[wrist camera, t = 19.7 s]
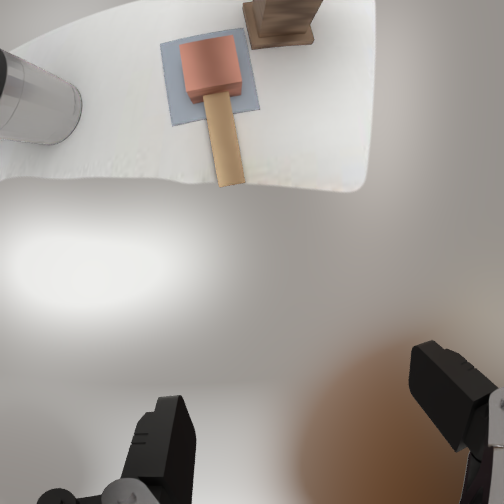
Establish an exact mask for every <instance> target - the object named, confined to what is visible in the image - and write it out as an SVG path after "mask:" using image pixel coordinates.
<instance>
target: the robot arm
mask: <svg viewBox="0 0 504 504" xmlns="http://www.w3.org/2000/svg"><path fill="white" fill-rule="evenodd" d="M81 109H82V102H81V97H80V94H79V92H78V90H77V89H76V88H75V87H74V86H73V85H72V84H70V83H68V82H66V81H64V80H62V79H60V78H59V77H57V76H55V75H53V74H51V73H49V72H47V71H45V70H43V69H41V68H39V67H37V66H35V65H33V64H31V63H29V62H27V61H25V60H23V59H21V58H19V57H17V56H15V55H13V54H10V53H8V52H6V51H4V50H2V49H0V139H2V140H11V141H20V142H29V143H38V144H46V145H52V144H56V143H59V142H61V141H62V140H64V139H65V138H67V137H68V136H69V135H70V134H71V132H72V131H73V130H74V128H75V127H76V125H77V123H78V120H79V118H80V114H81ZM409 389H410V392H411V394H412V396H413V397H414V398H415V400H416V401H417V402H418V404H419V405H420V406H421V407H422V409H423V410H424V411H425V413H426V414H427V415H428V417H429V418H430V419H431V420H432V422H433V423H434V424H435V426H436V427H437V428H438V429H439V431H440V432H441V434H442V435H443V436H444V437H445V439H446V440H447V441H448V443H449V444H450V445H451V447H452V448H453V449H454V451H455V452H458V451H460V450H462V449H464V448H466V447H468V448H469V450H470V452H469V455H468V460H467V467H466V473H465V480H464V485H463V490H462V495H461V499H460V503H459V504H504V387H502V388H498V387H497V386H496V385H494V384H493V383H492V382H491V381H490V380H489V379H488V378H487V377H485V376H484V375H483V374H482V373H481V372H480V371H479V370H477V369H476V368H474V366H473V365H472V364H470V363H469V362H467V360H466V359H465V358H464V357H462V356H461V355H460V354H459V353H456V352H454V351H452V350H449V349H445V350H444V349H443V348H442V347H441V346H440V345H438V344H437V343H436V342H435V341H433V340H431V341H428V342H425V343H422V344H419V345H416V346H414V347H413V348H412V351H411V362H410V372H409ZM131 443H132V445H130V448H129V452H128V455H127V458H126V461H125V465H124V468H123V472H122V475H121V478H120V479H118V480H115V481H114V482H112V483H110V484H109V485H108V486H107V487H106V488H105V489H104V491H103V493H102V494H101V495H97V496H91V497H85V498H78V499H76V498H75V496H74V495H73V494H72V493H71V492H69V491H68V490H65V489H61V488H58V489H57V488H56V489H51V490H49V491H47V492H45V493H44V494H43V495H42V496H41V497H40V498H39V500H38V502H37V504H192V490H193V477H194V465H195V453H196V434H195V429H194V426H193V423H192V421H191V418H190V416H189V413H188V411H187V408H186V405H185V402H184V400H183V398H182V396H181V395H177V396H166V397H159V398H158V400H157V403H156V408H155V411H154V412H146V413H145V415H144V416H143V417H142V418H141V419H140V420H139V421H138V423H137V426H136V429H135V433H134V436H133V439H132V442H131Z"/></svg>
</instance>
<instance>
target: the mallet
mask: <svg viewBox="0 0 504 504" xmlns="http://www.w3.org/2000/svg"><path fill="white" fill-rule="evenodd" d="M179 48H180V55H181V61H182V68H183V74H184V81H185V87H186V92H187V94H188V96H189V98H190V99H191V101H192V103H193V104H196V103H201V102H204V106H205V112H206V118H207V123H208V129H209V135H210V140H211V146H212V151H213V157H214V162H215V168H216V173H217V179H218V184H219V187H224V186H230V185H235V184H240V183H245V178H244V173H243V167H242V162H241V156H240V151H239V145H238V140H237V134H236V129H235V123H234V118H233V112H232V107H231V101H230V97H233V96H239V95H241V90H242V78H241V72H240V67H239V62H238V57H237V52H236V47H235V42H234V37H233V35H228V36H222V37H216V38H210V39H205V40H200V41H195V42H190V43H185V44H181V45H179Z"/></svg>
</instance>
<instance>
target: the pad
mask: <svg viewBox="0 0 504 504" xmlns="http://www.w3.org/2000/svg"><path fill="white" fill-rule="evenodd" d="M228 35H233V37H234V42H235V47H236V52H237V57H238V62H239V67H240V72H241V78H242V90H241V95H239V96H233V97H230V101H231V107H232V112H233V114H234V113H240V112H246V111H253V110H259V109H260V106H259V101H258V96H257V91H256V86H255V81H254V76H253V71H252V66H251V62H250V57H249V52H248V47H247V43H246V38H245V33H244V29H243V28H238V29H231V30H225V31H219V32H213V33H207V34H202V35H197V36H192V37H187V38H183V39H178V40H174V41H170V42H166V43H162V44H160V47H161V55H162V62H163V69H164V77H165V83H166V90H167V97H168V103H169V109H170V116H171V122H172V126H175V125H180V124H184V123H189V122H193V121H198V120H203V119H207V118H206V112H205V106H204V102H201V103H196V104H193V103H192V101H191V99H190V98H189V96H188V94H187V92H186V87H185V81H184V74H183V68H182V61H181V55H180V48H179V45H181V44H185V43H190V42H195V41H200V40H205V39H210V38H216V37H222V36H228Z"/></svg>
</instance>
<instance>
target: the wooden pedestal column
mask: <svg viewBox="0 0 504 504" xmlns="http://www.w3.org/2000/svg"><path fill="white" fill-rule="evenodd" d="M322 2H323V0H253V2H246V3H243V12H244V17H245V21H246V26H247V30H248V35H249V39H250V44H251V48H252V50H253V49H261V48H270V47H280V46H292V45H307V44H312V43H313V41H314V37H313V34H312V30H311V26H310V24H311V22H312V20H313V18H314V16H315V14H316V13H317V11H318V9H319V7H320V5H321V3H322Z"/></svg>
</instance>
